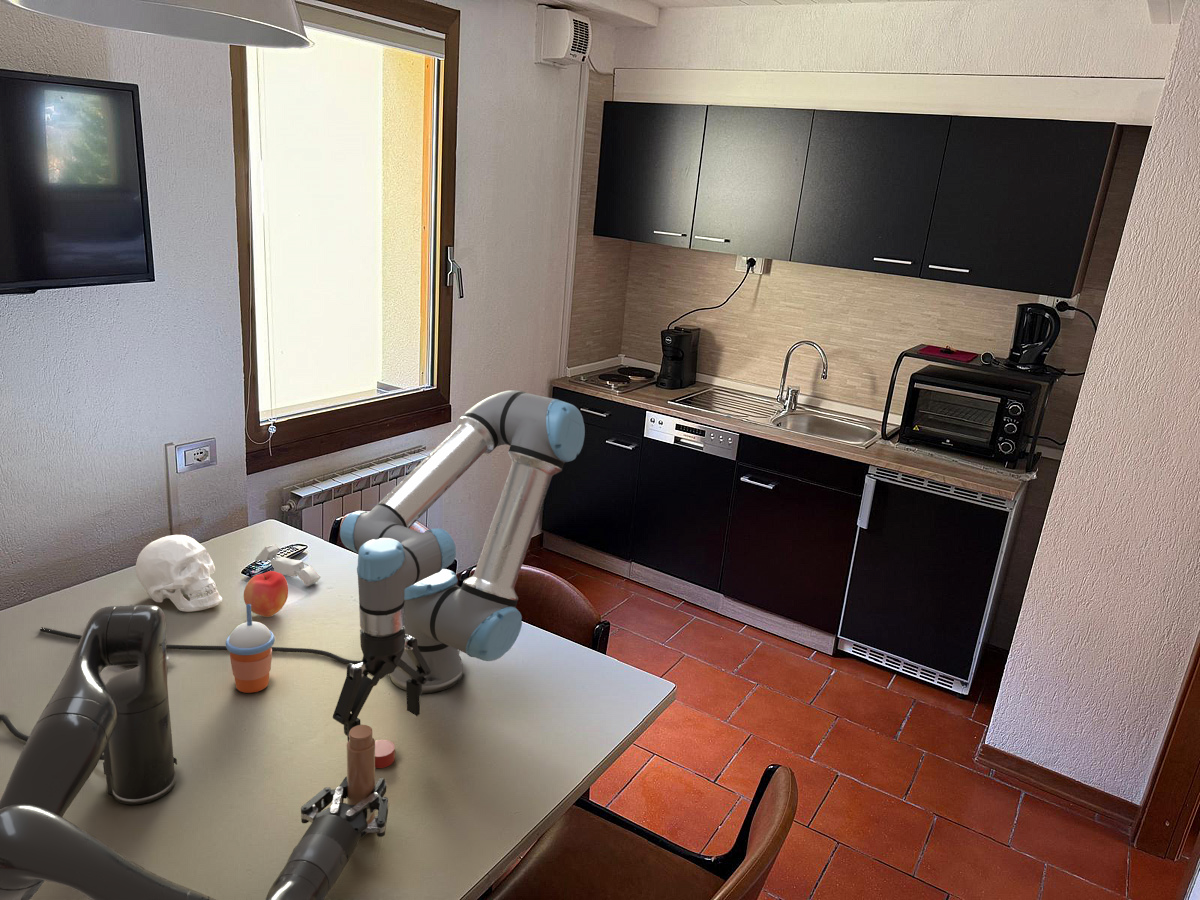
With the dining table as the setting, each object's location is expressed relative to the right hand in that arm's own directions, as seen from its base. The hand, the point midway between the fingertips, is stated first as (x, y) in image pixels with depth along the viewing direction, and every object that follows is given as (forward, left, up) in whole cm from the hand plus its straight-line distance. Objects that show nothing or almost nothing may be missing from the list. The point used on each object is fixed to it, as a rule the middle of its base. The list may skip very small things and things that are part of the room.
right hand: (384, 730), depth 154 cm
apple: (-57, +25, -6) cm, 62 cm away
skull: (-78, +19, -6) cm, 80 cm away
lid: (0, -1, -4) cm, 4 cm away
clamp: (-68, +42, -6) cm, 80 cm away
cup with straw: (-37, +3, -6) cm, 37 cm away
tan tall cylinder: (+8, -15, -6) cm, 18 cm away
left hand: (+7, -13, +1) cm, 15 cm away
